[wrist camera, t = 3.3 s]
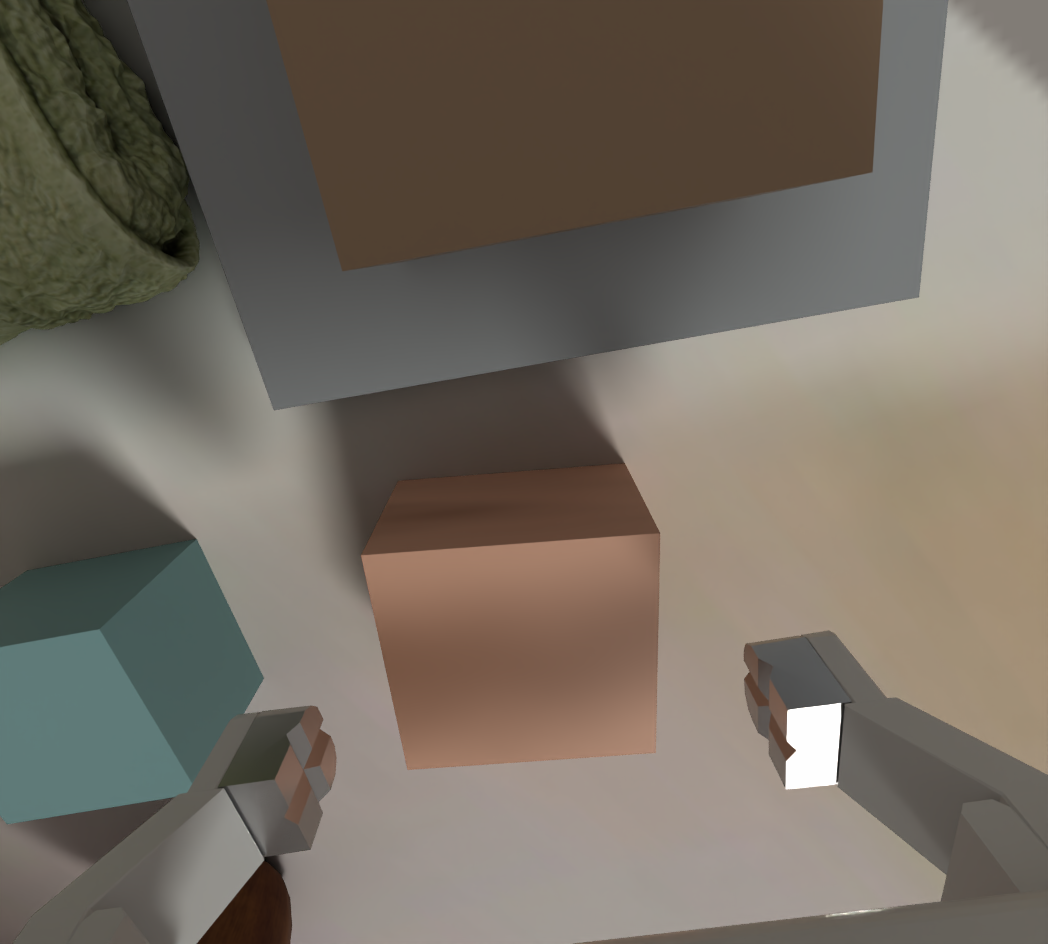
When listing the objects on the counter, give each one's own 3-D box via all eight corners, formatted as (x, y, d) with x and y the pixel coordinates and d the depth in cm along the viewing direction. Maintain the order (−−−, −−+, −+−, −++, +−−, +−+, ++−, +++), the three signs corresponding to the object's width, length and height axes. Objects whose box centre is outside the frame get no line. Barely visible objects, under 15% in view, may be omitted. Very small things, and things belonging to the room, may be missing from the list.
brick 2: (624, 642, 17) (655, 752, 13) (431, 656, 17) (407, 769, 13) (623, 460, 15) (660, 533, 11) (399, 477, 15) (361, 555, 11)
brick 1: (265, 675, 17) (198, 793, 13) (114, 701, 17) (7, 824, 14) (199, 536, 15) (98, 628, 12) (30, 567, 16) (-120, 669, 12)
